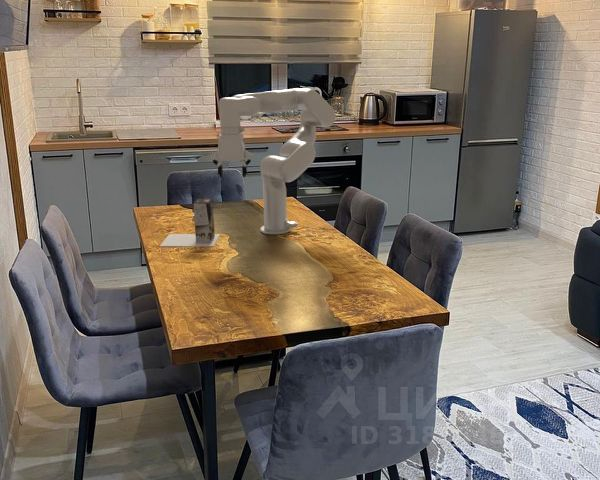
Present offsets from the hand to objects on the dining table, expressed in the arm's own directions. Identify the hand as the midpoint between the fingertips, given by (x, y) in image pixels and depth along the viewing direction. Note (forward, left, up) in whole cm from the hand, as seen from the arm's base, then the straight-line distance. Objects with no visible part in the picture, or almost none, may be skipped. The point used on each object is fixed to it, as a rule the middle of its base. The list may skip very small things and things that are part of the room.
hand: (232, 176), depth 229 cm
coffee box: (+12, 0, -26) cm, 29 cm away
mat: (+18, 0, -26) cm, 32 cm away
